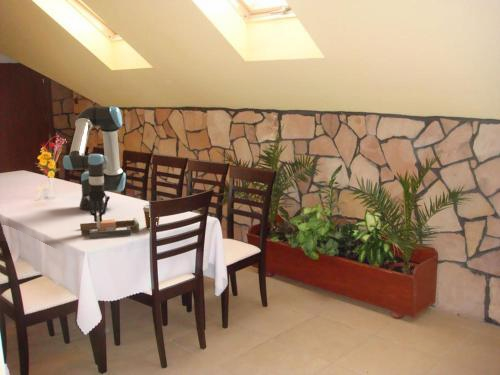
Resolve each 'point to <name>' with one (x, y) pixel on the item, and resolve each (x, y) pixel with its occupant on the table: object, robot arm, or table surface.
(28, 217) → the table surface
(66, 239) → the table surface
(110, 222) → the terracotta block
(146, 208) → the disposable coffee cup
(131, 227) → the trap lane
